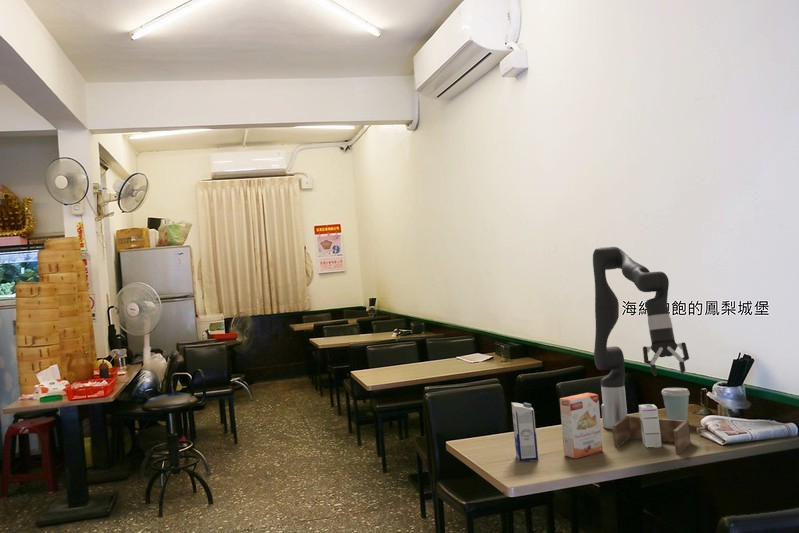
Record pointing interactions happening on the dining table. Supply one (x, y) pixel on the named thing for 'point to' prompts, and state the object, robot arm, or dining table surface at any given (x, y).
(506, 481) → the dining table surface
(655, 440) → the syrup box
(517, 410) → the milk carton
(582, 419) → the cracker box
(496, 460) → the dining table surface
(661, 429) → the wooden u-shaped bracket
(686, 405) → the disposable coffee cup
